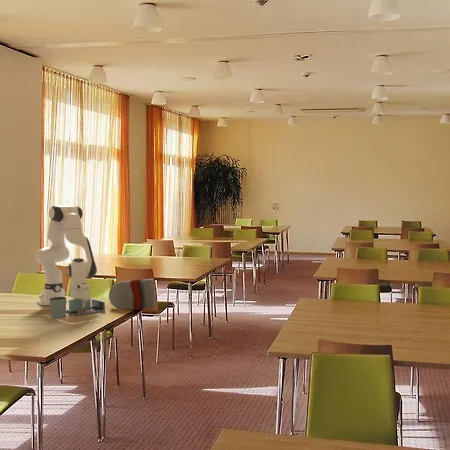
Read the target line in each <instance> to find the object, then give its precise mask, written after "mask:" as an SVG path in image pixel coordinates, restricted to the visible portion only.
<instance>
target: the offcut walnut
mask: <svg viewBox="0 0 450 450" xmlns="http://www.w3.org/2000/svg"><path fill="white" fill-rule="evenodd" d="M90 311H95V310H93V309H88V310H77V313H84V312H90ZM77 313H76V314H77Z"/></svg>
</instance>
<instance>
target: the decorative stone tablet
mask: <svg viewBox="0 0 450 450" xmlns="http://www.w3.org/2000/svg"><path fill="white" fill-rule="evenodd" d="M108 291H109V292H108V299H109V302H110V304H111V305H112V306H113V307H114V308H115V309H118V310H122V309H128V310H135V311H142V310H143V309H147V308H148V309H149V308H155V307H156V306H157V297H156V295H157V293H156V287H155V279H154V278H143V279H142V278H141V279H140V278H137V279H131V280H122V281H119V282H116V283H114V285H112V286H111V287H110V289H109V290H108Z"/></svg>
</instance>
